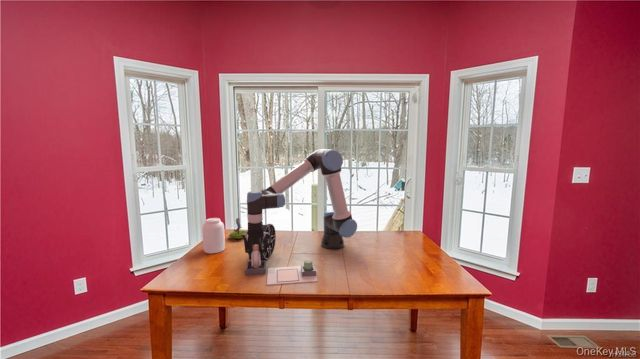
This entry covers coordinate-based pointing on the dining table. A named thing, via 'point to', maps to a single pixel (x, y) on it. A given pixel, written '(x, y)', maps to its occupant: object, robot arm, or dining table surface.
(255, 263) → the marker
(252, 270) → the marker tray
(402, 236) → the dining table surface
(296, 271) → the board
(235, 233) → the figurine
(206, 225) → the white jar
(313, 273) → the button housing
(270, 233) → the wheel rim
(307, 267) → the button cap
